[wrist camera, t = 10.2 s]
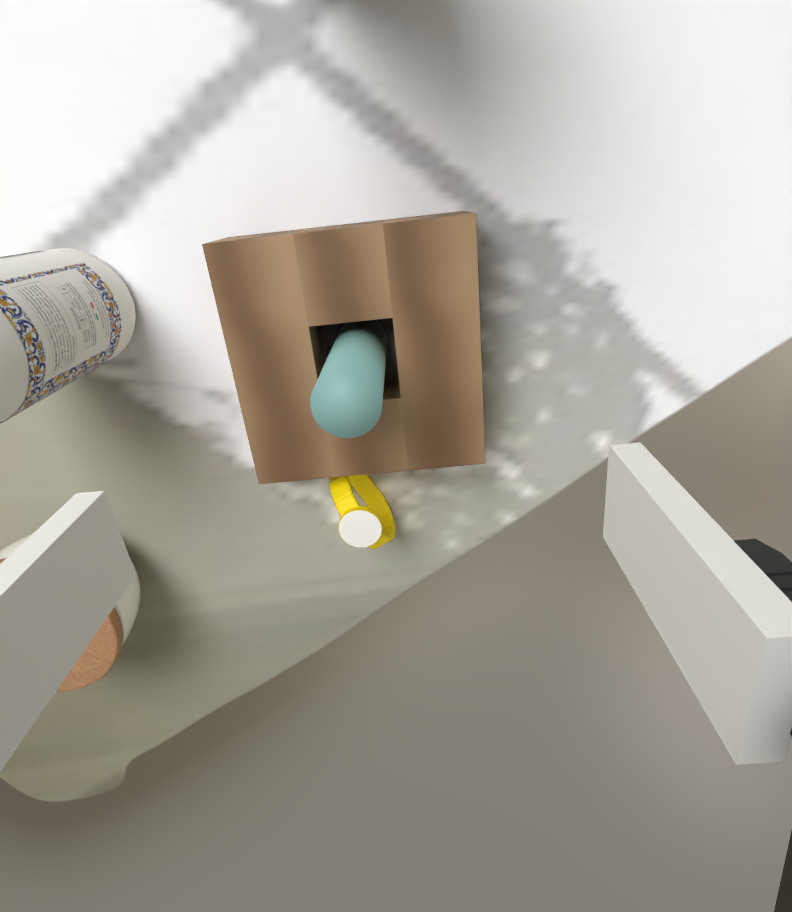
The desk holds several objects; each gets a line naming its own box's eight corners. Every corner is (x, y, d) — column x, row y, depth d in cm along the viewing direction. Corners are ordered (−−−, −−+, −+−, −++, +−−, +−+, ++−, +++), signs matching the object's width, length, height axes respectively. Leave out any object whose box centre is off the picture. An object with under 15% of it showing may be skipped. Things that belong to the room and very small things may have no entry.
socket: (464, 210, 32) (476, 213, 28) (474, 431, 38) (485, 463, 34) (228, 237, 33) (202, 244, 28) (275, 450, 39) (259, 484, 34)
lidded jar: (149, 630, 46) (93, 729, 37) (15, 594, 44) (-76, 689, 36) (174, 528, 42) (117, 613, 33) (26, 483, 40) (-73, 561, 31)
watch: (327, 464, 40) (312, 501, 34) (359, 445, 39) (348, 480, 33) (374, 527, 41) (367, 572, 36) (405, 509, 41) (402, 552, 35)
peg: (390, 362, 36) (386, 434, 25) (341, 367, 36) (316, 441, 25) (384, 313, 35) (377, 366, 24) (333, 318, 35) (304, 374, 24)
